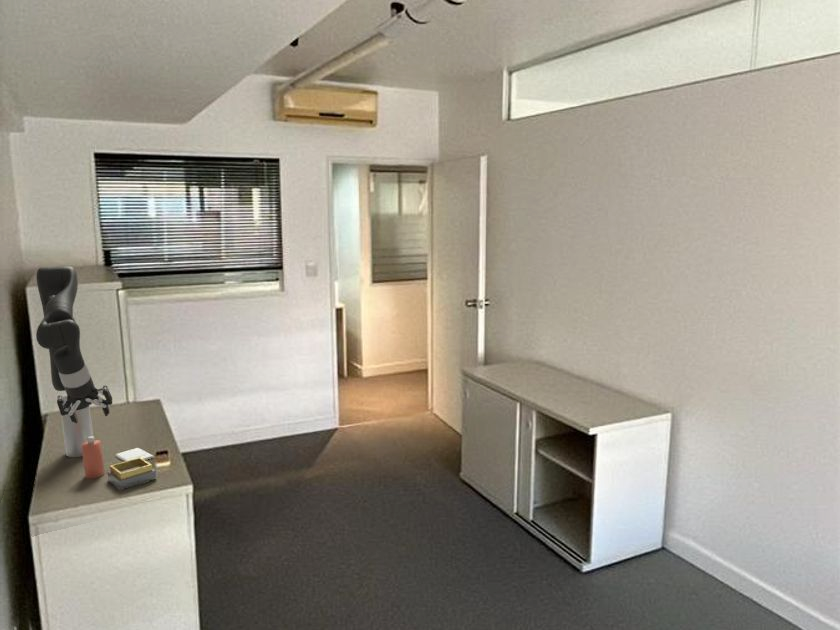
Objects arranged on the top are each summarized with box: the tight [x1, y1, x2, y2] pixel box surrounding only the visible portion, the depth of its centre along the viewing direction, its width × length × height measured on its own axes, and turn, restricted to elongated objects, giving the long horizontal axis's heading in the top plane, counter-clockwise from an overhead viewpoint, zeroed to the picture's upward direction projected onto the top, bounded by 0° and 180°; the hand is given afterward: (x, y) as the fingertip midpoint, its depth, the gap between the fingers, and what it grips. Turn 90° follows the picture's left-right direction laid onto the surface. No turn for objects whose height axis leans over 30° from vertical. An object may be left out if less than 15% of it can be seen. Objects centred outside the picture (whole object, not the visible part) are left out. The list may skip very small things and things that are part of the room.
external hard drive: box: [115, 447, 155, 462], centre depth 217 cm, size 2×8×12 cm
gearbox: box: [107, 457, 157, 491], centre depth 197 cm, size 11×11×5 cm
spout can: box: [82, 435, 105, 479], centre depth 201 cm, size 6×6×13 cm
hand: (91, 417), depth 190 cm, fingers open, 8 cm apart
